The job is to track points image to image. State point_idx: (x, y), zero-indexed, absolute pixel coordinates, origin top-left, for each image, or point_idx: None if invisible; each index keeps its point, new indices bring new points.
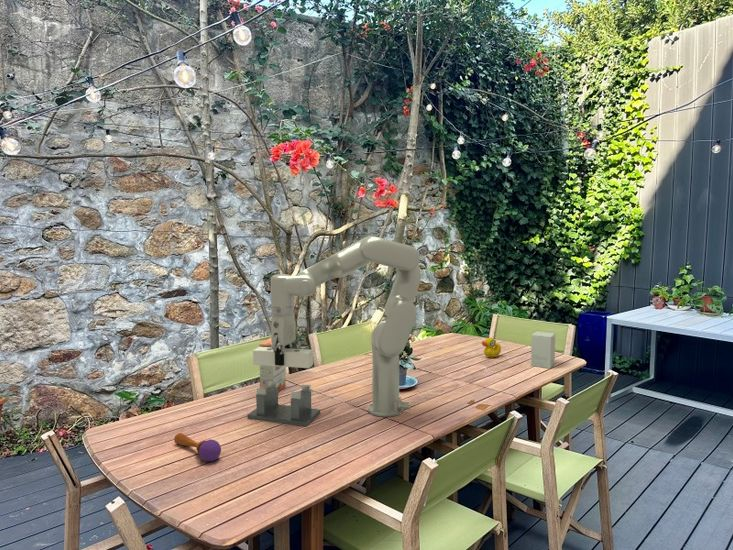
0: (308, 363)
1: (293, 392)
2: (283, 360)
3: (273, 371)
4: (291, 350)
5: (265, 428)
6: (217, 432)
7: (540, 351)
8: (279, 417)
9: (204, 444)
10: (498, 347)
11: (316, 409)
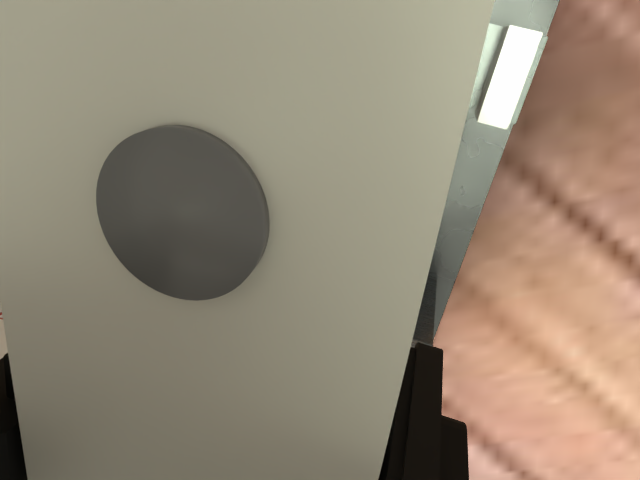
0: None
1: (502, 106)
2: (439, 401)
3: (3, 353)
4: (178, 368)
5: (572, 239)
6: (609, 457)
7: None
8: (468, 184)
9: None
10: None
11: None
